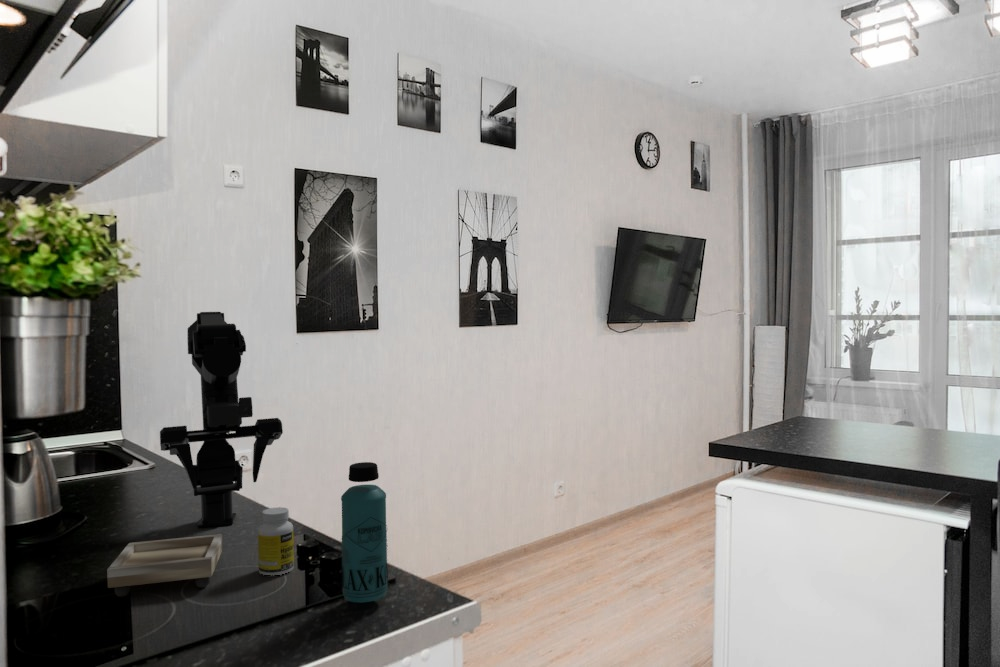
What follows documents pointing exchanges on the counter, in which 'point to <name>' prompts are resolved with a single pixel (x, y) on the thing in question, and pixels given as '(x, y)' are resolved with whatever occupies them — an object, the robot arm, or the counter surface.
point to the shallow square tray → (165, 562)
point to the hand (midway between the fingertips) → (225, 485)
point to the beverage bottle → (364, 537)
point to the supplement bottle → (275, 542)
